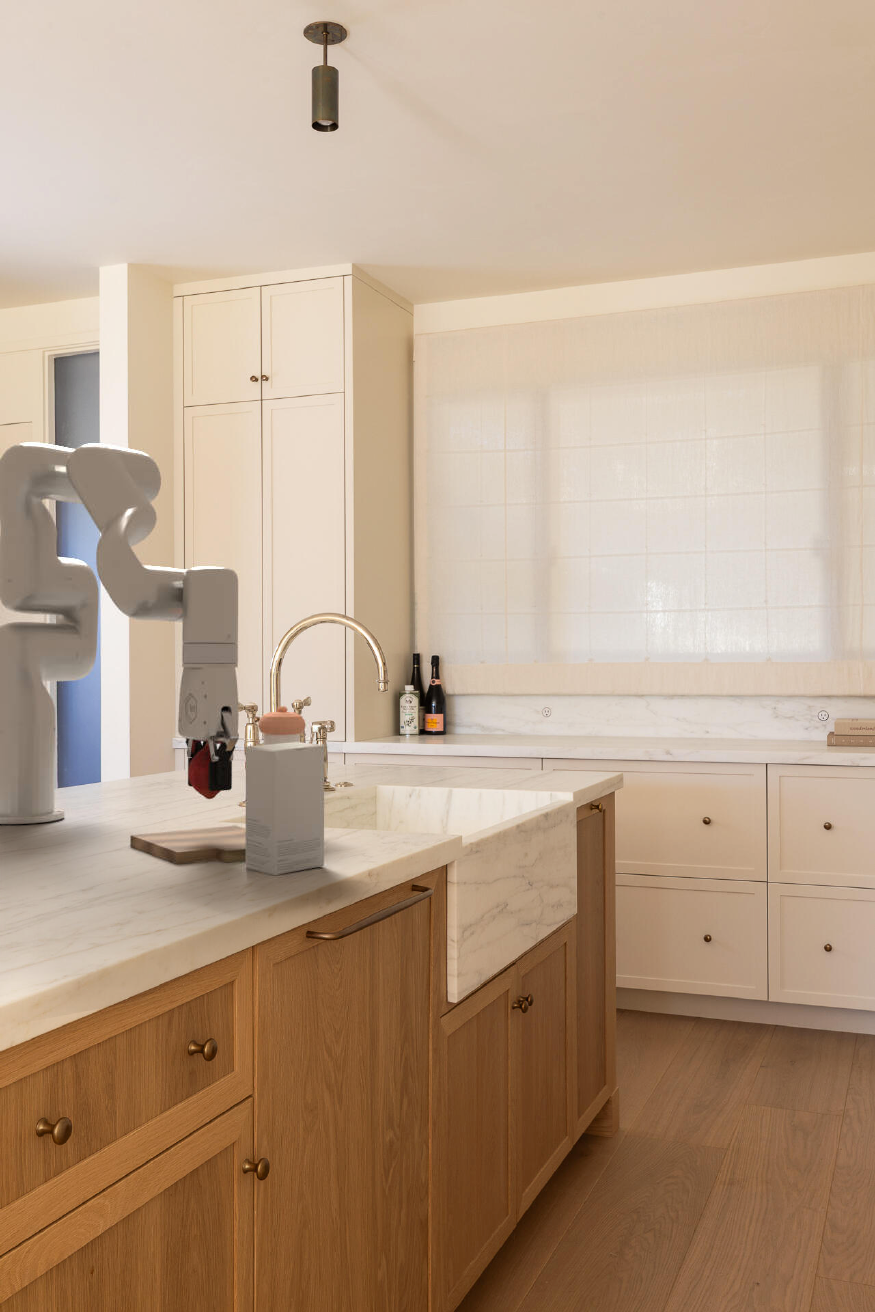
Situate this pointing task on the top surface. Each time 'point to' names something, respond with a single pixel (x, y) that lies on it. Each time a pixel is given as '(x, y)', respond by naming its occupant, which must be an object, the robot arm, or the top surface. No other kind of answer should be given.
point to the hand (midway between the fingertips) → (209, 786)
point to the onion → (201, 772)
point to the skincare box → (284, 807)
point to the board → (195, 844)
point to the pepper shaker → (281, 726)
